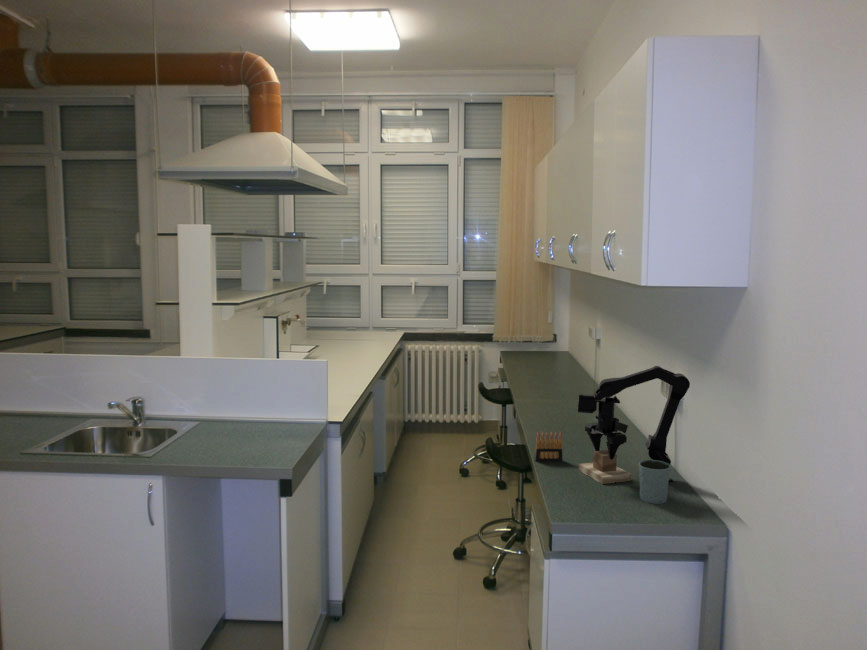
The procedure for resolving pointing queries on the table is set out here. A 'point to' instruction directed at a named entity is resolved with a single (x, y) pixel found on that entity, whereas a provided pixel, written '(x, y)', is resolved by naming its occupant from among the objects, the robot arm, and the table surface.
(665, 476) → the grey-blue cup
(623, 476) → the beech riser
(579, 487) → the table surface
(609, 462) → the walnut cube
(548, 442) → the ammunition clip
